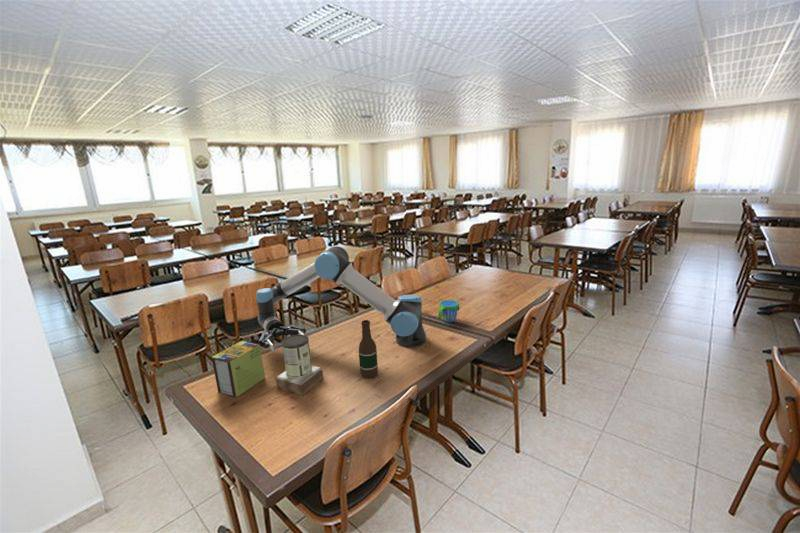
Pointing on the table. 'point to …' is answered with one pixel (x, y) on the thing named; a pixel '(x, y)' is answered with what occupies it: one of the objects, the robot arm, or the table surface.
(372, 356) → the beer bottle
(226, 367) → the protein box
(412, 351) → the table surface
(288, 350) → the coffee can
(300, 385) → the stand
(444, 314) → the snack cup
